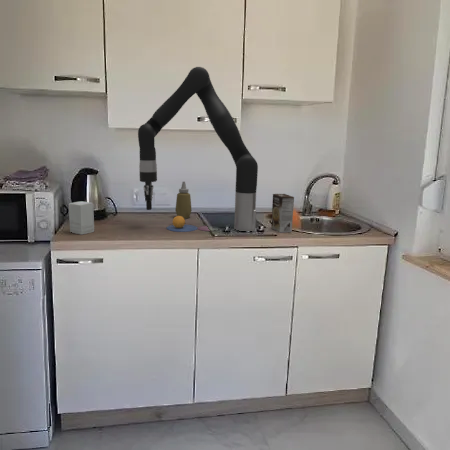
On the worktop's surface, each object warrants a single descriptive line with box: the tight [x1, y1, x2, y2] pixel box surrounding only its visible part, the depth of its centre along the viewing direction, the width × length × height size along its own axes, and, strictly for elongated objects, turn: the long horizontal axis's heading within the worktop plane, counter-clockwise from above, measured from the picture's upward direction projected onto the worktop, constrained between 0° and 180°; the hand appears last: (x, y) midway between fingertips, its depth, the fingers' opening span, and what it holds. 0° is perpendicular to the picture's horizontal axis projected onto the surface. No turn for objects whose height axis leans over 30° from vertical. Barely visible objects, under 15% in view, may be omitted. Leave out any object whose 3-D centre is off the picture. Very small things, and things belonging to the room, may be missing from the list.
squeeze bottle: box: [175, 181, 192, 219], centre depth 235 cm, size 8×8×18 cm
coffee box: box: [270, 193, 295, 233], centre depth 214 cm, size 9×6×16 cm
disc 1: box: [166, 224, 199, 233], centre depth 213 cm, size 14×14×1 cm
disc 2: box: [197, 225, 211, 232], centre depth 214 cm, size 10×10×1 cm
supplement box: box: [68, 200, 95, 235], centre depth 200 cm, size 7×7×13 cm
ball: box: [172, 215, 186, 228], centre depth 213 cm, size 6×6×6 cm
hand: (149, 209), depth 211 cm, fingers closed
